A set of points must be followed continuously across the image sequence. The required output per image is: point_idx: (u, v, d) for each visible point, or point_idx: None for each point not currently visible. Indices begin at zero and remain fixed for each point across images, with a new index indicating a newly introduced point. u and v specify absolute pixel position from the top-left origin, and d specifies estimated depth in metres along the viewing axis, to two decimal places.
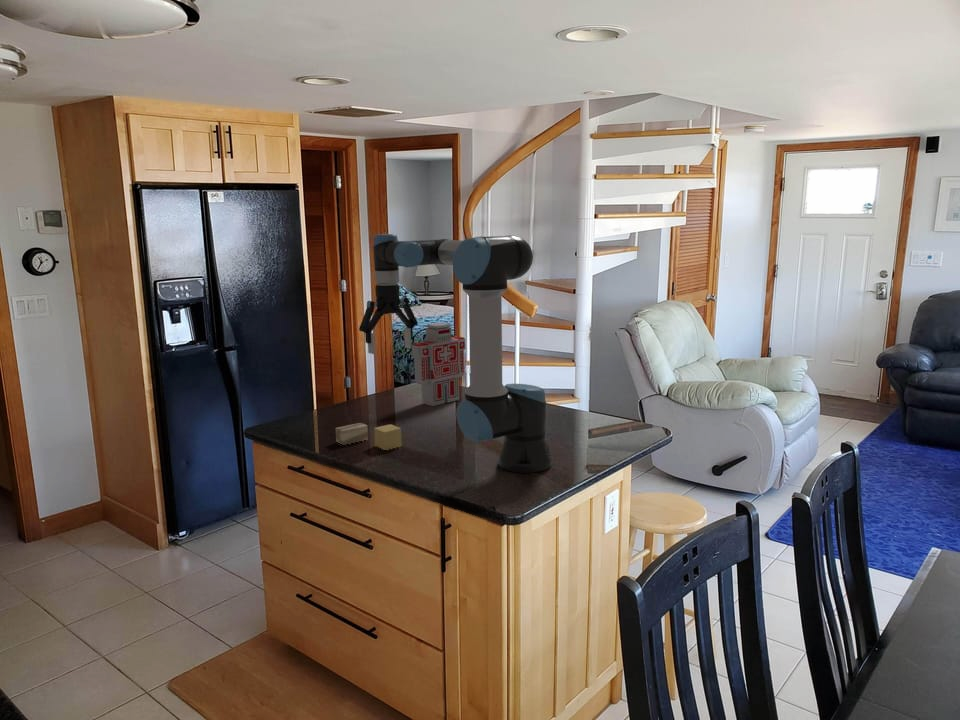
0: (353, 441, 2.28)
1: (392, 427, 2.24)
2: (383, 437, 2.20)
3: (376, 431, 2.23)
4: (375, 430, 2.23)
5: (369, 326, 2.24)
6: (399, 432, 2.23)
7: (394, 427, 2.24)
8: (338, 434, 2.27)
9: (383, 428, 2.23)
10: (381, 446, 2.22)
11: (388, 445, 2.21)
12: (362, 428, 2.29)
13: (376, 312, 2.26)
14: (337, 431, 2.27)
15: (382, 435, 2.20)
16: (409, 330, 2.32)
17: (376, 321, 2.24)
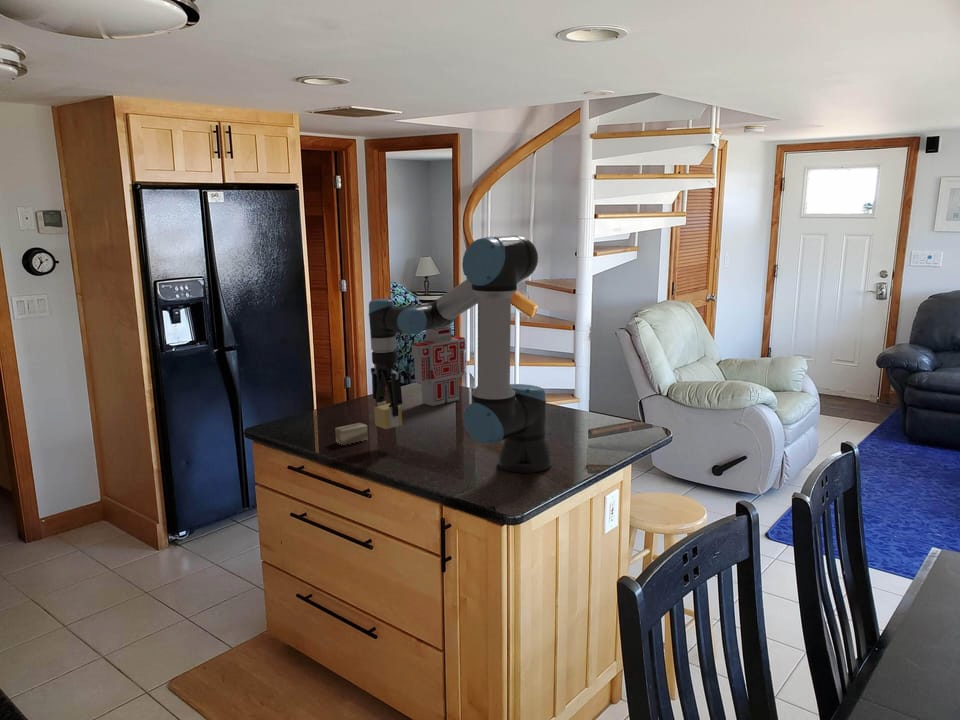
0: (353, 441, 2.28)
1: None
2: (383, 415, 2.18)
3: (376, 410, 2.21)
4: (375, 409, 2.22)
5: None
6: (399, 410, 2.21)
7: None
8: (338, 434, 2.27)
9: (383, 407, 2.21)
10: (381, 424, 2.20)
11: (388, 424, 2.19)
12: (362, 428, 2.29)
13: None
14: (337, 431, 2.27)
15: (382, 414, 2.19)
16: (389, 408, 2.18)
17: (378, 389, 2.22)
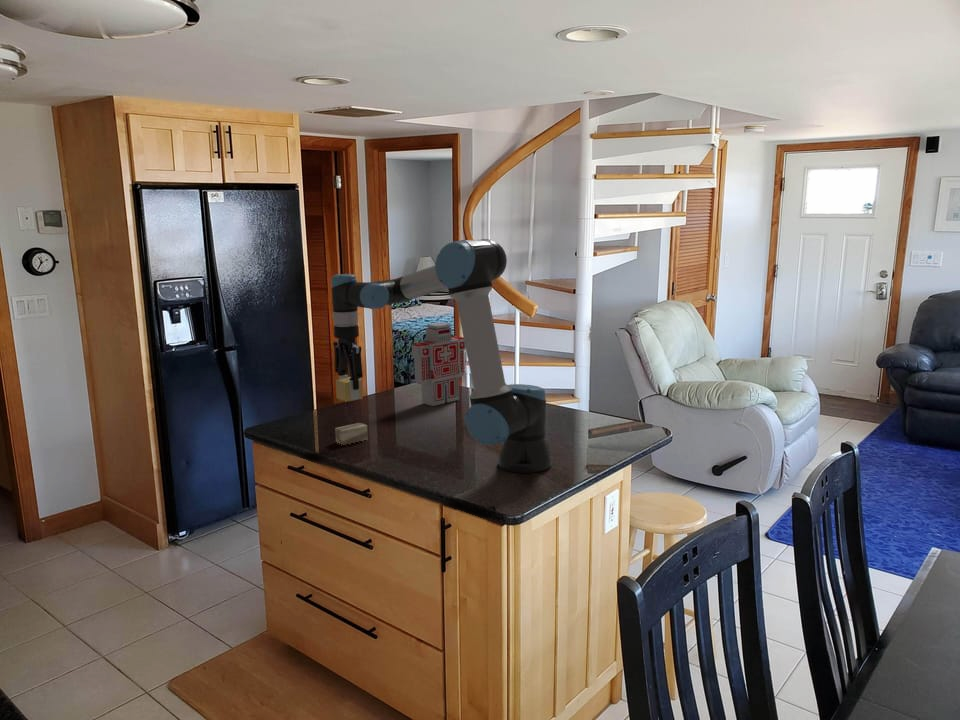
0: (353, 441, 2.28)
1: None
2: (344, 388, 2.23)
3: (337, 383, 2.26)
4: (336, 381, 2.26)
5: None
6: (360, 384, 2.25)
7: None
8: (338, 434, 2.27)
9: (344, 380, 2.25)
10: (342, 397, 2.24)
11: (348, 396, 2.23)
12: (362, 428, 2.29)
13: None
14: (337, 431, 2.27)
15: (343, 386, 2.23)
16: (350, 381, 2.23)
17: (339, 362, 2.26)
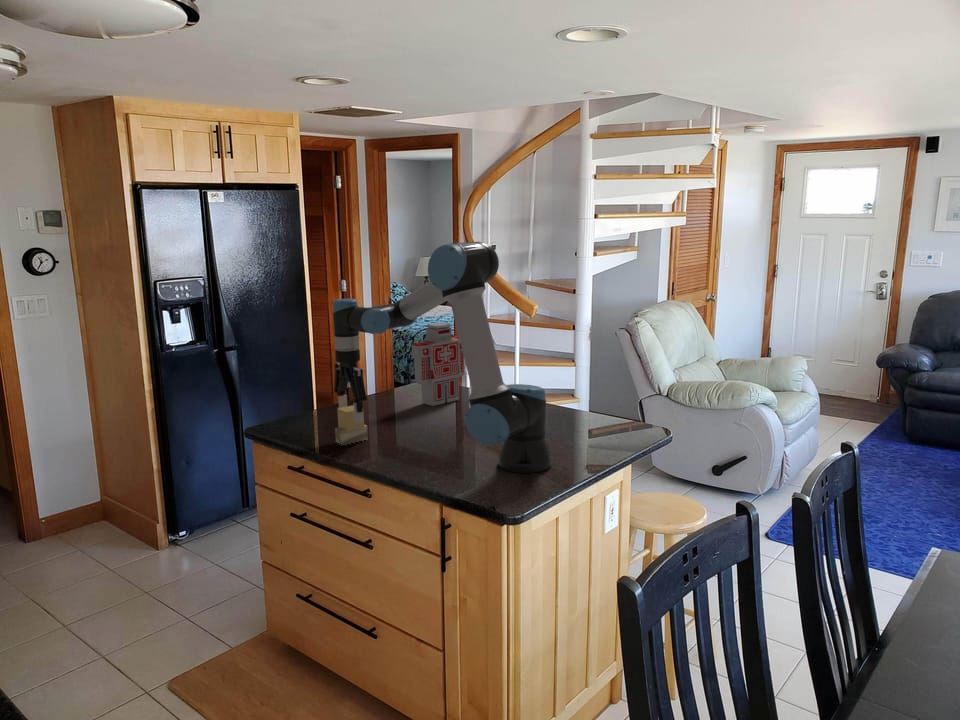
0: (353, 441, 2.28)
1: None
2: (345, 417, 2.25)
3: (339, 412, 2.27)
4: (338, 410, 2.28)
5: None
6: None
7: None
8: (338, 434, 2.27)
9: (345, 409, 2.27)
10: (344, 426, 2.26)
11: (350, 425, 2.25)
12: (362, 428, 2.29)
13: None
14: (337, 431, 2.27)
15: (344, 415, 2.25)
16: (354, 404, 2.23)
17: (339, 384, 2.29)
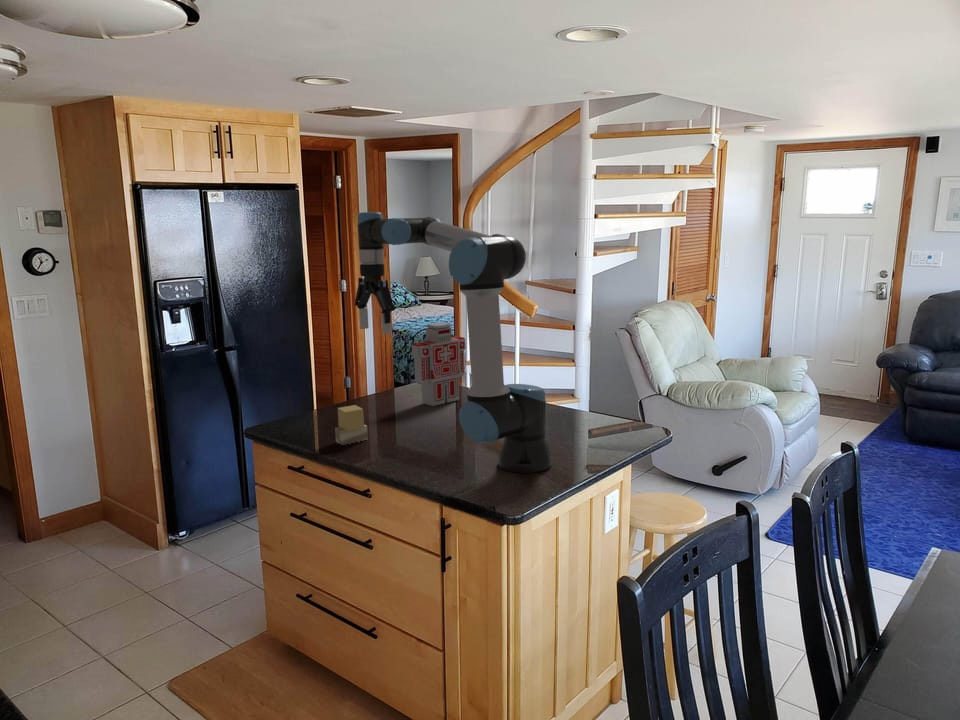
0: (352, 441, 2.28)
1: (355, 408, 2.28)
2: (345, 417, 2.25)
3: (339, 412, 2.28)
4: (338, 410, 2.28)
5: None
6: (361, 412, 2.27)
7: (357, 408, 2.28)
8: (338, 434, 2.27)
9: (345, 409, 2.27)
10: (343, 426, 2.26)
11: (349, 425, 2.25)
12: (362, 428, 2.29)
13: None
14: (337, 431, 2.27)
15: (344, 415, 2.25)
16: (381, 315, 2.20)
17: (361, 298, 2.28)
